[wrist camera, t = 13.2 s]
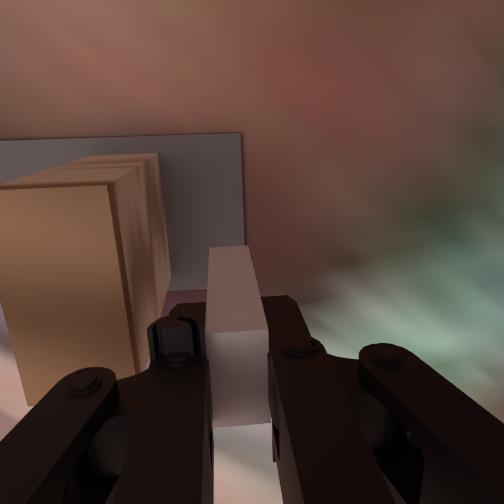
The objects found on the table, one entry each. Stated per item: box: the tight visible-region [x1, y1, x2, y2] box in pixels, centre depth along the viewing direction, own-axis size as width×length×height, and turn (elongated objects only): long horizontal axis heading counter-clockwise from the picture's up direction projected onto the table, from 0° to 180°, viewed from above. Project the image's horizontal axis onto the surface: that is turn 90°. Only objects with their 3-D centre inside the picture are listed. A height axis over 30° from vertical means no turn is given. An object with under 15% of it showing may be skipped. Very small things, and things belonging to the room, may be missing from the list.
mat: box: [0, 133, 245, 291], centre depth 25 cm, size 10×20×1 cm, turn 92°
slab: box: [0, 153, 171, 406], centre depth 20 cm, size 8×4×12 cm, turn 2°
